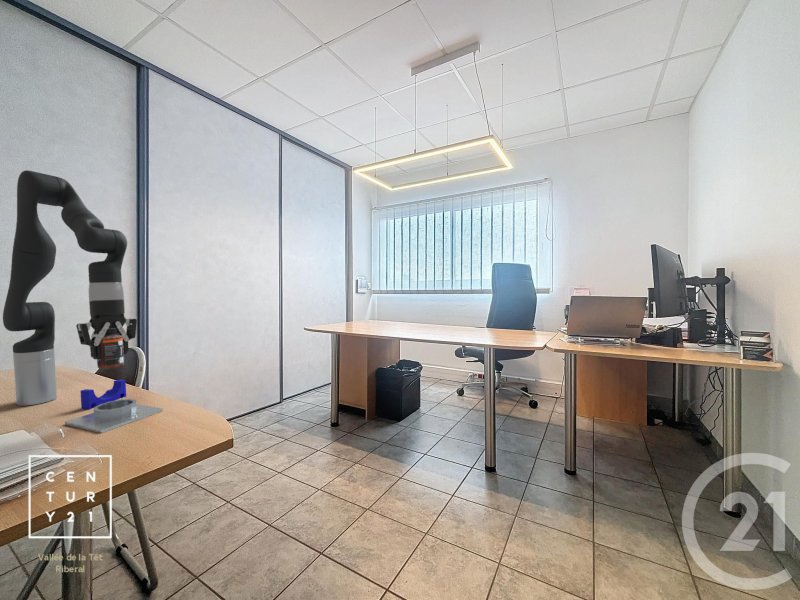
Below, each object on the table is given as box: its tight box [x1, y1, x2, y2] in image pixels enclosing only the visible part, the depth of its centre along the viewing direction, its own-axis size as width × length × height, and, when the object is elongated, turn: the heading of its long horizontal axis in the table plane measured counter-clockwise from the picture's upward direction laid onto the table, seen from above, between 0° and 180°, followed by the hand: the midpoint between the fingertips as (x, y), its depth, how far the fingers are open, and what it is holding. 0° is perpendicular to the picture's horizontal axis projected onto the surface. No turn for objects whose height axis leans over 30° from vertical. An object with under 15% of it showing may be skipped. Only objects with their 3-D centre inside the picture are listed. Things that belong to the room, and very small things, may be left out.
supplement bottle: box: [96, 328, 125, 370], centre depth 97 cm, size 6×6×11 cm
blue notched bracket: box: [80, 379, 127, 410], centre depth 111 cm, size 12×4×6 cm, turn 171°
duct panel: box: [64, 398, 164, 434], centre depth 98 cm, size 16×16×4 cm
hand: (110, 356), depth 97 cm, fingers closed on supplement bottle, 6 cm apart
